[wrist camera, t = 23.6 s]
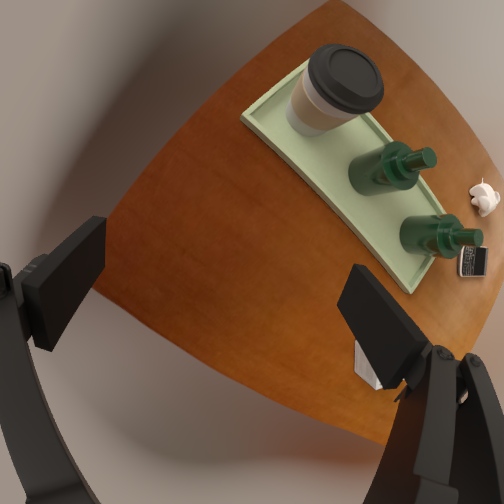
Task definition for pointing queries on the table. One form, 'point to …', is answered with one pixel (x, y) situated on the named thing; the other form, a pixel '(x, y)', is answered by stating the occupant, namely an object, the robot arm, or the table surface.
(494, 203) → the elephant figurine
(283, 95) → the tray
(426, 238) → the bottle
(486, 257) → the cell phone
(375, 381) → the product box
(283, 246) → the table surface
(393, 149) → the bottle mid
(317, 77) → the coffee cup
